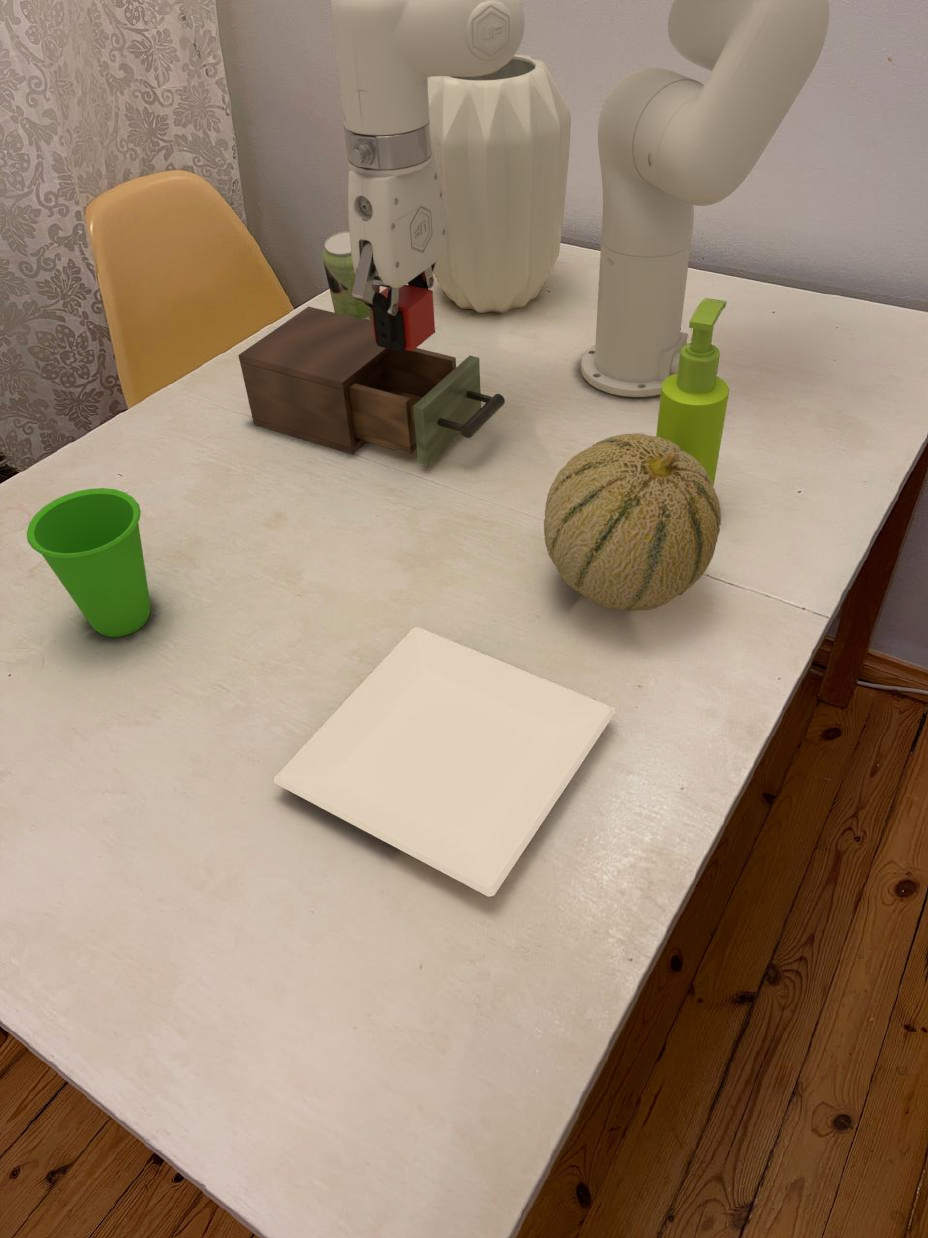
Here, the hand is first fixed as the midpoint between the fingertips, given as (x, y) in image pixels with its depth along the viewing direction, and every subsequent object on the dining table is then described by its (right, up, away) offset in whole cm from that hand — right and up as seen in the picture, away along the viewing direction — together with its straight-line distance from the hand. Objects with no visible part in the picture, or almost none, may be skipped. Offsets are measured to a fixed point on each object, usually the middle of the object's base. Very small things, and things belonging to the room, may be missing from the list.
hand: (405, 334), depth 98 cm
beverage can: (-8, +9, +27) cm, 29 cm away
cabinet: (-9, -5, +12) cm, 16 cm away
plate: (+5, -40, -25) cm, 47 cm away
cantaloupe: (+20, -26, -11) cm, 35 cm away
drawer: (+1, -8, +7) cm, 11 cm away
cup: (-25, -29, -11) cm, 40 cm away
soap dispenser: (+27, -18, -3) cm, 33 cm away
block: (0, 0, 0) cm, 0 cm away
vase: (+10, +15, +33) cm, 37 cm away
